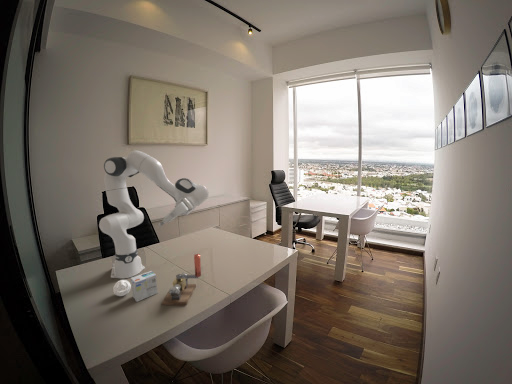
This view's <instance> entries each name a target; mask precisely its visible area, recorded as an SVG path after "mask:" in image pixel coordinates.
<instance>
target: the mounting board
mask: <svg viewBox="0 0 512 384" xmlns="http://www.w3.org/2000/svg"><path fill="white" fill-rule="evenodd" d="M196 288H197V284H196V283H188V286H187V288H184V290H183V291H181V298H180V300H172V299H171V295H170V293H169V292H168V293H167V294H166V295H165V297H164V299H163V300H162V301H161V305H162V306H187V305H188V304H189V301H190V299H191V297H192V295H193V294H194V291H195V290H196Z"/></svg>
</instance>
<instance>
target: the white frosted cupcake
mask: <svg viewBox="0 0 512 384" xmlns="http://www.w3.org/2000/svg"><path fill="white" fill-rule="evenodd" d="M112 290H113V293H114V295H115V296H116V297H124V296H126V295H128V294H129V292H130V291H131V290H132V284H131V281H129V280H127V279H120V280H117V282H116V283H115V284H114V285H113V288H112Z"/></svg>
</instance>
